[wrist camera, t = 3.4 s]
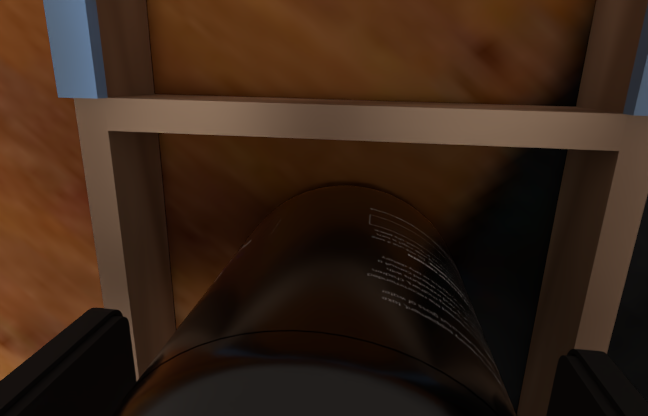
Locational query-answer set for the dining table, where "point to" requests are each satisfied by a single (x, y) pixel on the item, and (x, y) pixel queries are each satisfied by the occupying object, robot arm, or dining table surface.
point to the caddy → (362, 125)
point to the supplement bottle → (330, 323)
